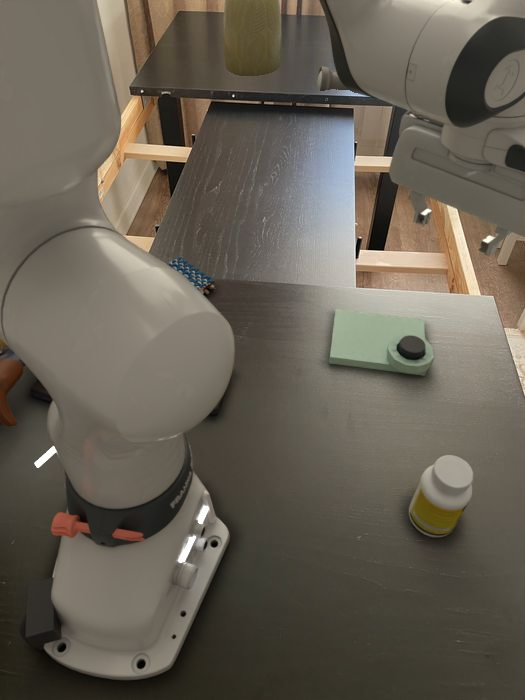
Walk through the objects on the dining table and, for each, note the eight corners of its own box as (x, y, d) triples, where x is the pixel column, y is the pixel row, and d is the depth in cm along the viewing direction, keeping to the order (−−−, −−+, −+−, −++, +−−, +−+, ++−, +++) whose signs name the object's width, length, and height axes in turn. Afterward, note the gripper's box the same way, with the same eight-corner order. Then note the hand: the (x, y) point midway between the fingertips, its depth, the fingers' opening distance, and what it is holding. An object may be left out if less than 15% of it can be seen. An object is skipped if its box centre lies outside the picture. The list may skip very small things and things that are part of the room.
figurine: (60, 431, 65) (155, 285, 86) (5, 373, 59) (121, 232, 80) (-44, 442, 74) (65, 308, 95) (-101, 393, 69) (28, 262, 89)
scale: (430, 382, 77) (435, 368, 75) (328, 369, 79) (330, 355, 77) (426, 326, 85) (431, 312, 83) (334, 315, 87) (336, 301, 85)
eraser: (93, 409, 71) (96, 417, 72) (109, 386, 74) (112, 394, 75) (22, 388, 74) (26, 396, 75) (40, 367, 76) (44, 375, 77)
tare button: (423, 361, 76) (426, 354, 75) (398, 358, 77) (400, 350, 76) (422, 344, 79) (425, 336, 78) (398, 341, 79) (400, 333, 78)
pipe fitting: (321, 68, 146) (316, 63, 154) (317, 100, 150) (312, 93, 159) (364, 72, 147) (356, 67, 155) (358, 104, 151) (351, 97, 160)
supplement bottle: (456, 543, 60) (482, 498, 53) (407, 533, 61) (426, 489, 54) (454, 500, 64) (478, 453, 57) (408, 492, 64) (426, 445, 58)
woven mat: (131, 289, 92) (129, 279, 90) (180, 263, 97) (178, 254, 96) (168, 317, 86) (167, 308, 85) (217, 289, 92) (217, 279, 90)
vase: (213, 78, 165) (207, -27, 146) (249, 64, 174) (248, -36, 155) (255, 92, 157) (255, -18, 138) (291, 76, 167) (295, -28, 147)
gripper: (389, 109, 62) (371, 215, 71) (564, 169, 52) (515, 282, 61) (419, 95, 65) (398, 198, 75) (590, 148, 55) (539, 260, 65)
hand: (452, 237), depth 68 cm, fingers open, 8 cm apart
